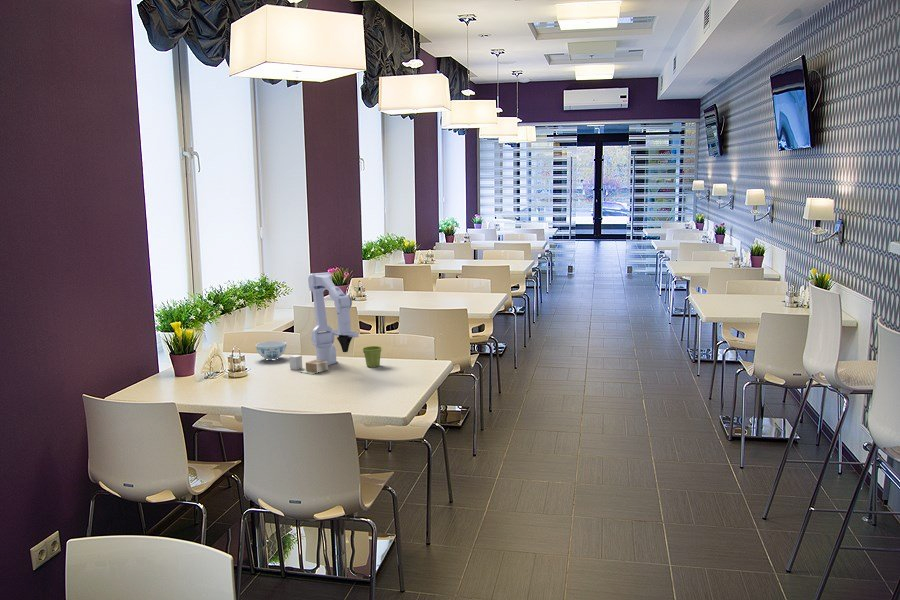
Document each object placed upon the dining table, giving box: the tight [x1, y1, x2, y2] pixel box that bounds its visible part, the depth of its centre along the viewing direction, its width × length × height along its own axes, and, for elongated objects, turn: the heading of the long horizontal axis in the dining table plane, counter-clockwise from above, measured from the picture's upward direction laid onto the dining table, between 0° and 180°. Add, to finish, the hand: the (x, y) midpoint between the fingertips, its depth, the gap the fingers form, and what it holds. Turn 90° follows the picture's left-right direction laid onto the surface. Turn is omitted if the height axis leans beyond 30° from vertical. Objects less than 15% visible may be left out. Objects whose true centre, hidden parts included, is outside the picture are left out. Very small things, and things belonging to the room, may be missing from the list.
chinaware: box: [255, 340, 287, 360], centre depth 391 cm, size 15×15×8 cm
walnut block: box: [305, 359, 329, 374], centre depth 363 cm, size 7×4×7 cm
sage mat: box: [300, 367, 330, 375], centre depth 364 cm, size 11×8×1 cm
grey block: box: [289, 354, 303, 370], centre depth 369 cm, size 4×4×6 cm
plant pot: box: [361, 345, 383, 368], centre depth 370 cm, size 9×9×9 cm
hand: (345, 351), depth 356 cm, fingers closed
